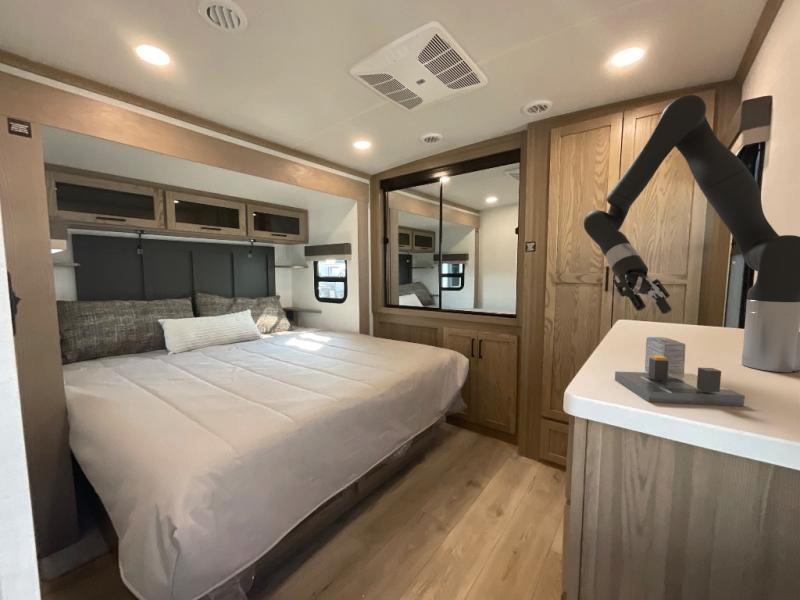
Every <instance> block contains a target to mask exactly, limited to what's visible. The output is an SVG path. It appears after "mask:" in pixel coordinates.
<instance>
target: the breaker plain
mask: <svg viewBox="0 0 800 600" xmlns="http://www.w3.org/2000/svg"><path fill="white" fill-rule="evenodd" d="M697 376H698V377H697V388H698V389H700V390H703V391H706V392H720V386H721V379H722V378H721V377H722V370H719V369H716V368H715V367H697Z"/></svg>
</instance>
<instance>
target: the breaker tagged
mask: <svg viewBox="0 0 800 600" xmlns="http://www.w3.org/2000/svg"><path fill="white" fill-rule="evenodd" d="M668 362H669V361H668V360H667V358H666V357H664V356H651V358H649V372H648V373H649V375H648V376H649V377H651V378H653V379H662V380H667V377H668Z"/></svg>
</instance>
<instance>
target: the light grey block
mask: <svg viewBox="0 0 800 600" xmlns="http://www.w3.org/2000/svg"><path fill="white" fill-rule="evenodd" d="M651 356H664V357H666V358H667V360H668V361H669V362H668V373H683V374H685V364H686V343H684V342H680V341H678V340H675V339H671V338H668V337H664V336H648V337H646V343H645V361H644V365H645V366H644V370H645V371H646V372H647V373H649V358H651Z"/></svg>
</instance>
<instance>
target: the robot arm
mask: <svg viewBox="0 0 800 600" xmlns="http://www.w3.org/2000/svg"><path fill="white" fill-rule="evenodd" d="M706 113H707V106H706V102H705V101H704V99H703V98H701V97H700V96H699V95H695V94H685V95H683V96H680V97H677V98H676V99H674V100H673V101H671V102H670V103H668V105H666V107H665V108H664V110H663V112H662V113H661V116H660V118H659V119H658V122H657V124H656V126H655V128H654V129H653V131H652V133H651V135H650V136H649V138H648V140H647V141H646V143H645V145H644V146H643V147H642V149H641V150H640V152H639V153H638V155H637V156H636V157H635V159H634V160H633V161H632V163H631V164H630V165H629V167H628V168H627V169H626V171H624V173H623V174H622V175H621V177H620V179H619V180H618V181H617V182H616V184H615V185H614V187H613V188H612V189H611V191H610V192H609V193H608V195H607V196H606V202H607V203H608V204H609V205H610V207H609V209H608V212H606V211H603V210H599V209H597V210H592V211H590V212H588V213H587V214H586V216H585V217H584V220H583V228H584V230H585V232H586V234H587V235H588V236H589V237H590V238H591V239H592V241H594V242H595V243H596V244H597V246H599V248H600V250H601V251H602V253H603V255H604V257H605V258H606V262H607V264H608V266H609V268H610V270H611V271H612V273H613V275H614V276H615V278H613V279H612V281H613V284H614V286H615V287H616V290H617V292H618V293H619V295H620V296H621V297H622V298H624V297H626V298H627V299H628V300H630V302H631V303H632V305H633V307H634V308H635V310H636V311H637V312H640V311H642V310H644V309H645V308H647V306H646V304H645V302H644V301H643V299H642V297H641V295H643V296H645V297H646V298H647V299H648V298H650V299H651V300H653V302H655V304H656V306H657V308H658V309H659V310H660V312H661V314H664V315H666V314H668V313H670V312H671V311H672V308H671V306H670V304H669V302H668V301H667V298H670V296H671V295H670V294H669V292H668V291H667V289H666V288H665V286H664V285H663V284H662V282H661V281H660V280H659V279H658V278H656V279H655V280H651V279H650V278H649V277H648V272H649V268H648V266H647V265H646V263H645V262H644V260H643V258H642V257H641V255H640V254H639V252H638V251H637V250H636V248H635V247H634V246H633V245H632V244H631V242H630V240H629V239H628V238H627V236H626V234H624V233H623V232H621V230H620V229H621V228H622V225H623V224H624V222H625V220H626V219H627V218H626V217H627V215H628V213H629V211H630V208H631V207H632V205H633V204H634V203H635V201H636V200H637V199H638V197H639V196H640V195H641V193H643V191H644V189H645V188H646V187H647V186H648V184H649V183H650V181H651V180H652V178H653V177H654V175H655V173H656V172H657V170H658V169H659V168H660V166H661V165H662V163H663V162H664V161H665V159H666V158H667V156H669V154H670V153H671V152H672V151H673V150H674V148H676V149H677V150H678V151H679V153H680V154H681V156H682V157H683V158H684V159H685V161H686V163H687V165H688V167H689V170H690V172H691V174H692V176H693V178H694V180H695V182H696V183H697V185H698V187H699V189H700V191H701V192H702V194H703V195H704V196H705V198H706V200H707V201H708V203H709V204H710V206H712V208H713V209H714V211H715V212H716V214H717V215H718V217H719V218H720V220H721V221H722V223H723V224H724V225H725V226H726V227H727V229H728V231H729V233H730V234H731V236H732V237H733V239H734V242H735V243H736V245H737V247H738V250H739V253H740V254H741V256H742V258H743V260H744V262H745V263H746V265H747V266H748V267H749V268H751V269H752V270H754V271H755V272H757V275H756V280H755V283H754V285H752V286H751V287H750V288H749V289H748V290H747V294H746V295H747V296H746V305H745V306H746V308H745V318H744V319H745V321H744V330H743V331H744V332H743V345H742V353H741V354H742V355H741V365H743V366H745V367H749V368H752V369H757V370H763V371H769V372H776V373H777V372H778V373H793V372H792V371H795V372H799V371H798V370H800V236H799V235H794V234H793V235H791V234H785V235H784V234H783V235H780V234H778V232H776V230H775V229H774V228H773V226H772V225H771V224H770V222H769V221H768V220H767V218H766V216H765V214H764V210H763V204H762V198H761V197H762V196H761V190H760V187H759V184H758V182H757V180H756V179H755V178H754V176H753V174H752V172H751V171H750V170H749V169H748V168H747V166H746V164H744V162H743V161H742V160H741V159H740V158H739V157H738V156H737V155H736V154H735V153H734V152H733V151H731V150H730V149H729V148H728V147H727V146H726V145H724V143H723V142H721V141H720V139H718V136H716V134H715V133H714V130H713V128H712V127H711V125H710V123H709V121H708V118H707V116H706ZM619 230H620V231H619ZM650 291H651V292H650ZM640 294H641V295H640Z"/></svg>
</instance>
